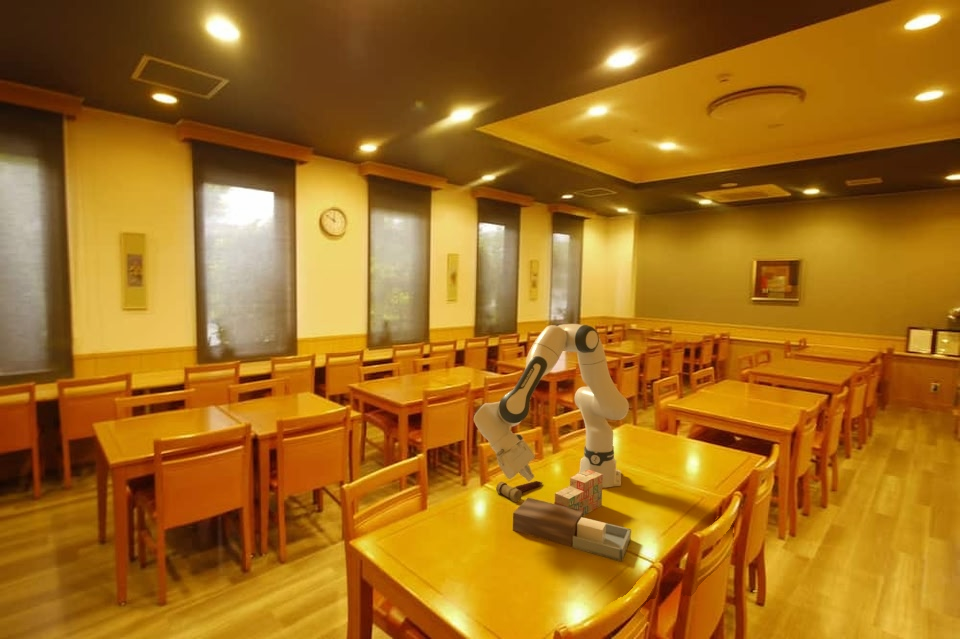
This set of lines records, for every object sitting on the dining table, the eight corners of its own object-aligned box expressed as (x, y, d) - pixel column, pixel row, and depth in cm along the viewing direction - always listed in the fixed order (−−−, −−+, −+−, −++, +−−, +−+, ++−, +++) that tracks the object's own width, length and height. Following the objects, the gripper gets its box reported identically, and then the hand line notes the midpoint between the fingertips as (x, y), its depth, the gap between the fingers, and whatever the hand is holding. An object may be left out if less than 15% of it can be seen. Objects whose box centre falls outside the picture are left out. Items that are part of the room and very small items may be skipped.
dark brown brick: (527, 513, 167) (527, 497, 167) (582, 528, 158) (583, 510, 157) (512, 530, 156) (513, 512, 155) (571, 546, 146) (571, 528, 146)
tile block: (581, 517, 154) (606, 523, 150) (581, 531, 154) (605, 538, 150) (577, 523, 149) (602, 530, 145) (576, 539, 149) (601, 545, 146)
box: (584, 527, 158) (584, 517, 158) (630, 539, 151) (630, 529, 151) (572, 547, 146) (572, 537, 145) (621, 561, 139) (622, 550, 139)
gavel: (533, 473, 197) (551, 481, 189) (533, 484, 197) (550, 492, 189) (496, 482, 183) (513, 491, 176) (495, 494, 183) (513, 503, 176)
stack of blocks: (568, 525, 160) (569, 490, 159) (553, 518, 164) (554, 484, 164) (601, 505, 175) (603, 473, 174) (587, 500, 179) (588, 468, 179)
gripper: (501, 449, 152) (528, 484, 149) (522, 433, 171) (547, 464, 167) (488, 460, 154) (514, 495, 151) (510, 443, 173) (534, 474, 169)
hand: (531, 479), depth 159 cm, fingers closed
